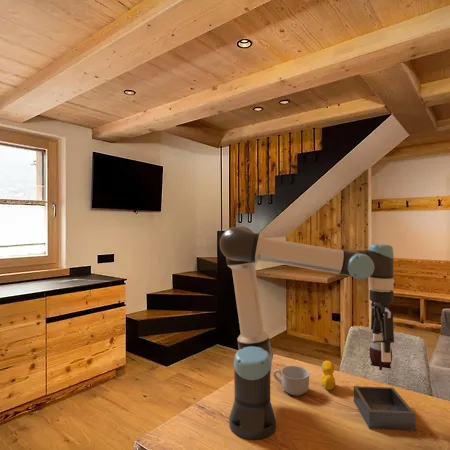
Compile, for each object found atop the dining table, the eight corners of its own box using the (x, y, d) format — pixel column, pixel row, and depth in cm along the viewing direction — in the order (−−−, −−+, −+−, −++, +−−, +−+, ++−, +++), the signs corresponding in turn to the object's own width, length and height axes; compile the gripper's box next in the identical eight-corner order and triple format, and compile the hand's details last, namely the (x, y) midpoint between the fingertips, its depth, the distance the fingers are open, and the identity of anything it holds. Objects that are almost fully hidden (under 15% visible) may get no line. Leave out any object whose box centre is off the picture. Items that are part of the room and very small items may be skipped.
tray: (369, 428, 107) (369, 411, 107) (353, 401, 124) (353, 386, 124) (415, 431, 105) (415, 413, 106) (393, 402, 122) (393, 387, 122)
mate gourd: (370, 361, 119) (369, 318, 119) (395, 365, 116) (394, 321, 116) (368, 369, 113) (368, 324, 113) (395, 373, 109) (395, 327, 109)
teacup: (313, 389, 132) (313, 369, 132) (303, 401, 123) (303, 380, 123) (280, 381, 140) (280, 361, 140) (269, 392, 131) (269, 371, 131)
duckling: (320, 380, 141) (320, 356, 141) (333, 381, 139) (333, 357, 139) (322, 393, 130) (321, 367, 130) (336, 394, 128) (336, 368, 128)
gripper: (405, 295, 104) (406, 369, 104) (381, 284, 124) (382, 346, 124) (380, 295, 105) (381, 369, 105) (360, 284, 125) (361, 346, 125)
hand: (381, 356), depth 115 cm, fingers closed on mate gourd, 7 cm apart
